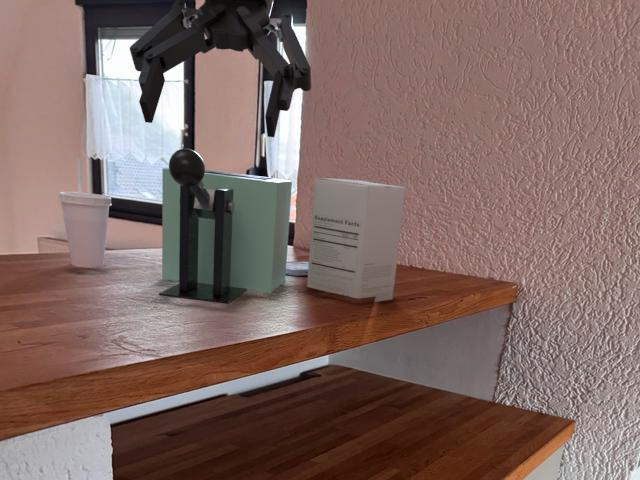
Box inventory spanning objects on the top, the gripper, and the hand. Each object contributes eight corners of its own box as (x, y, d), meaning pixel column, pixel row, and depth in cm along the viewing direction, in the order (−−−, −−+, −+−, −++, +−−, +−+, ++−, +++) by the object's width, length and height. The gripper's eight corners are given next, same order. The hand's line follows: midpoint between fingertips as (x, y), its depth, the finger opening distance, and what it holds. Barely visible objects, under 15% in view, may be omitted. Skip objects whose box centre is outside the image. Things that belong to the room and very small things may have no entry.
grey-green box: (271, 300, 93) (278, 181, 87) (160, 286, 93) (161, 166, 87) (285, 287, 103) (293, 179, 97) (186, 275, 103) (188, 166, 98)
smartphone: (348, 268, 123) (295, 270, 110) (347, 274, 123) (294, 278, 111) (312, 261, 126) (257, 262, 114) (311, 267, 126) (256, 269, 114)
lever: (197, 179, 72) (202, 144, 73) (162, 175, 73) (167, 139, 73) (223, 225, 85) (227, 195, 85) (192, 222, 85) (196, 191, 85)
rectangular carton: (342, 289, 107) (353, 179, 101) (394, 300, 102) (408, 186, 96) (303, 293, 100) (312, 175, 94) (356, 306, 95) (369, 183, 89)
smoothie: (68, 266, 99) (63, 154, 93) (117, 271, 100) (115, 160, 94) (56, 274, 93) (49, 154, 87) (108, 279, 94) (105, 161, 88)
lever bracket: (227, 312, 83) (232, 192, 78) (158, 303, 83) (158, 183, 78) (246, 298, 92) (251, 190, 87) (184, 290, 92) (185, 182, 87)
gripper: (131, -58, 84) (82, 75, 76) (347, -33, 83) (321, 103, 75) (147, 6, 90) (104, 134, 83) (346, 29, 90) (322, 160, 82)
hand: (207, 120), depth 79 cm, fingers open, 13 cm apart
